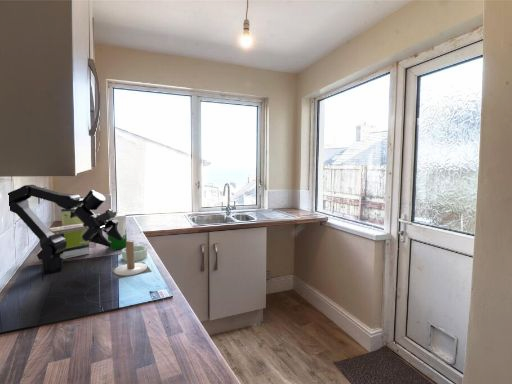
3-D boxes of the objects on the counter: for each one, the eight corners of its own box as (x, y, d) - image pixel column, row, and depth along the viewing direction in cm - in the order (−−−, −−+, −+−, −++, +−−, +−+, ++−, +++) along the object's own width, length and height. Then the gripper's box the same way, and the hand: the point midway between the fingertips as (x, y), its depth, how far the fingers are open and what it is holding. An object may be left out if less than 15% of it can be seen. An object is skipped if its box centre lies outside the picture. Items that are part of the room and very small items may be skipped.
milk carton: (106, 247, 157) (104, 211, 155) (122, 244, 164) (121, 209, 162) (112, 251, 151) (110, 213, 149) (129, 247, 158) (127, 211, 156)
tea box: (84, 250, 153) (82, 222, 152) (89, 254, 146) (88, 225, 144) (50, 256, 143) (48, 227, 141) (54, 261, 135) (52, 230, 134)
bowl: (124, 263, 132) (124, 253, 132) (120, 257, 141) (120, 248, 141) (149, 258, 138) (149, 249, 138) (144, 253, 148) (143, 244, 147)
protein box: (87, 230, 198) (86, 208, 196) (62, 231, 194) (60, 209, 193) (92, 227, 208) (91, 206, 206) (68, 228, 204) (66, 206, 203)
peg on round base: (116, 278, 114) (115, 247, 113) (112, 268, 125) (110, 240, 124) (150, 271, 121) (149, 242, 120) (143, 262, 132) (142, 236, 131)
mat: (115, 280, 113) (115, 279, 113) (110, 269, 125) (110, 268, 125) (152, 272, 121) (152, 271, 121) (144, 263, 133) (144, 262, 133)
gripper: (87, 207, 111) (117, 235, 112) (112, 201, 130) (138, 225, 131) (69, 227, 112) (98, 255, 113) (96, 218, 131) (122, 242, 132)
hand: (116, 243), depth 122 cm, fingers open, 9 cm apart
